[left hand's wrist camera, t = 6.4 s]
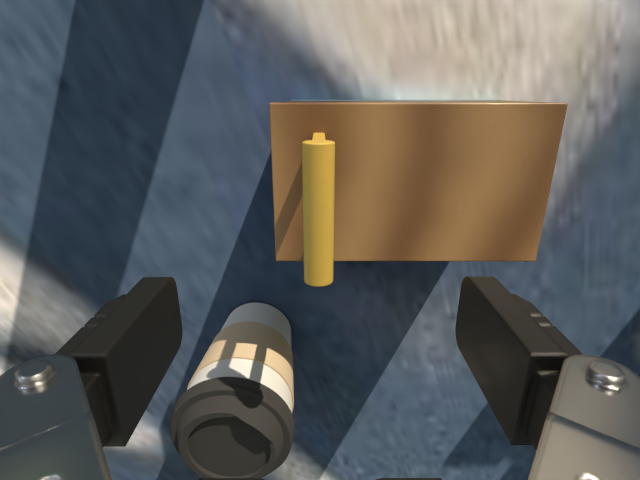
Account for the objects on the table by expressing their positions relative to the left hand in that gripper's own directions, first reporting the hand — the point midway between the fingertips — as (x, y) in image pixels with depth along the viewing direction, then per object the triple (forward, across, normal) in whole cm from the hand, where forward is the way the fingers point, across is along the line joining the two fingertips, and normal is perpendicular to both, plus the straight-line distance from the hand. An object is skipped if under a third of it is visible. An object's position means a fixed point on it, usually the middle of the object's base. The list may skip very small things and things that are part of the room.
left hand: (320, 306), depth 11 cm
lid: (+16, +6, 0) cm, 17 cm away
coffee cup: (+26, -6, -18) cm, 32 cm away
